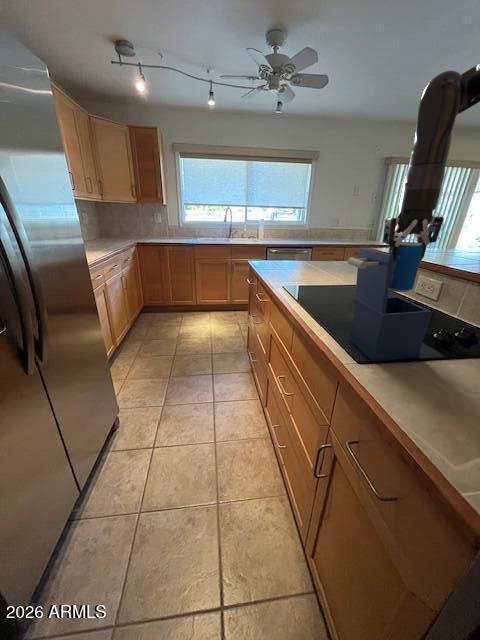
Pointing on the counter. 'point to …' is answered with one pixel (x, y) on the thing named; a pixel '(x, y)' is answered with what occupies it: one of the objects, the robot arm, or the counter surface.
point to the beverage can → (405, 267)
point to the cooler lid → (373, 277)
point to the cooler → (389, 329)
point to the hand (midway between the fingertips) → (404, 260)
